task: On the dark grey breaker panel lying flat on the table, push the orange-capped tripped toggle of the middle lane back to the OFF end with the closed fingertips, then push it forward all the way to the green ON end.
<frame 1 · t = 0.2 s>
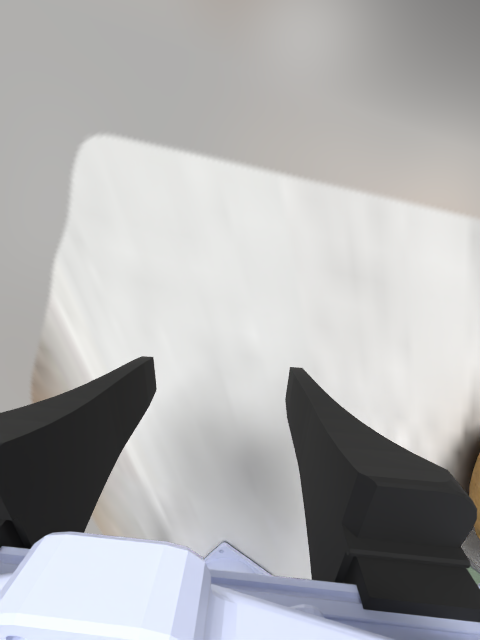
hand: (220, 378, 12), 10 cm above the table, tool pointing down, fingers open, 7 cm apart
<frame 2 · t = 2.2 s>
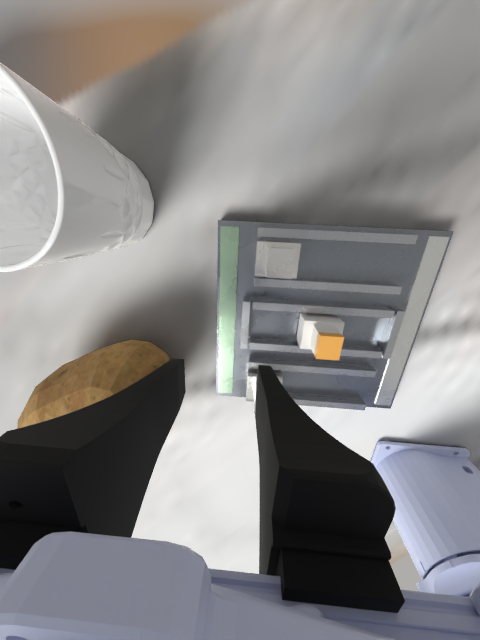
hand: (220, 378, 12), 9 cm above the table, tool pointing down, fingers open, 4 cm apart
potato: (128, 372, 24), on the table
breaker: (322, 336, 18), point 3 cm above the table, slide at 0.0 cm
panel: (312, 322, 20), on the table
white cup: (114, 202, 18), on the table
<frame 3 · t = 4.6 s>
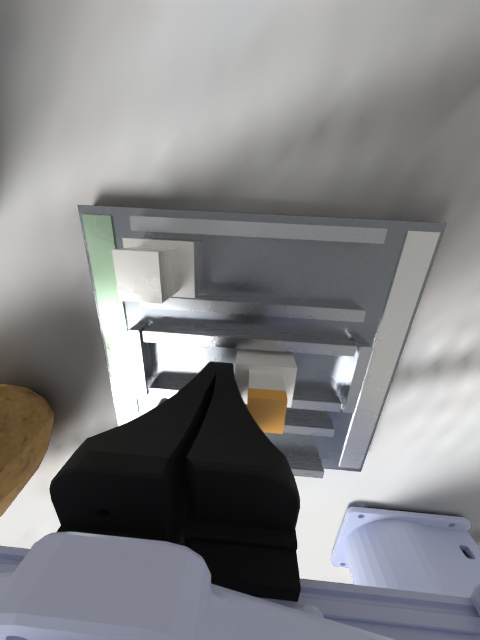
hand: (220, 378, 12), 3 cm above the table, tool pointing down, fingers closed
potato: (10, 415, 18), on the table
breaker: (264, 387, 11), point 3 cm above the table, slide at -1.0 cm, touching gripper
panel: (246, 355, 14), on the table
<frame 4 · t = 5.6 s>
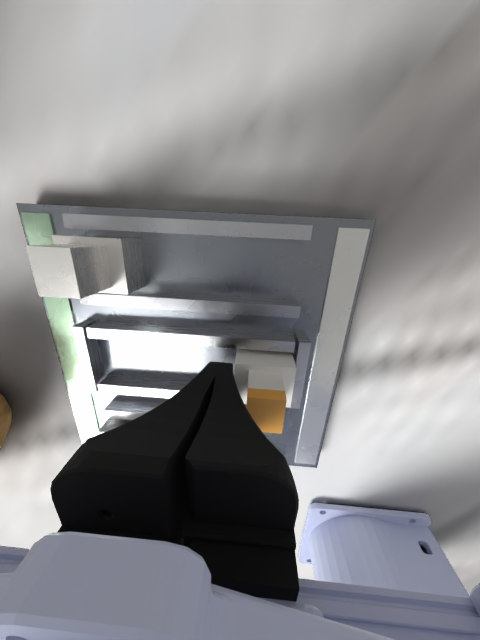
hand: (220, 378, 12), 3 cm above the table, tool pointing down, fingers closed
breaker: (263, 387, 11), point 3 cm above the table, slide at -4.0 cm, touching gripper
panel: (198, 351, 14), on the table
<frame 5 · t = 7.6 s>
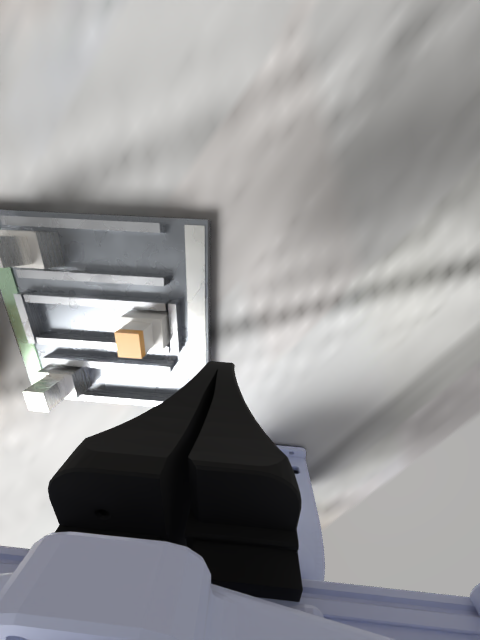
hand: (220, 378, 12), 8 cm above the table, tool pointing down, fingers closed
breaker: (141, 334, 17), point 3 cm above the table, slide at -4.0 cm
panel: (113, 316, 20), on the table
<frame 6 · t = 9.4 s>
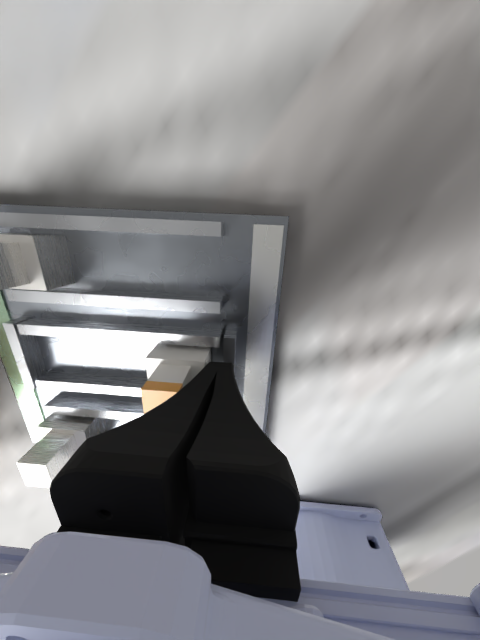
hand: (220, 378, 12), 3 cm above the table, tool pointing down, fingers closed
breaker: (175, 381, 12), point 3 cm above the table, slide at -3.4 cm, touching gripper
panel: (138, 348, 15), on the table
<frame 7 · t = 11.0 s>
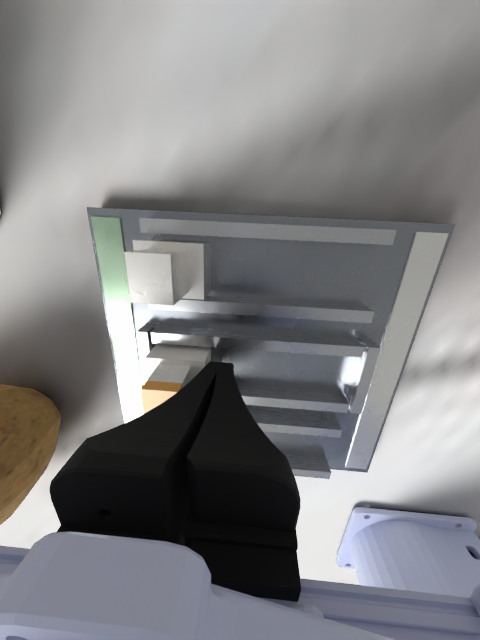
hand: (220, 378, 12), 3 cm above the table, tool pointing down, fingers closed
potato: (17, 416, 18), on the table
breaker: (175, 381, 12), point 3 cm above the table, slide at 4.0 cm, touching gripper
panel: (253, 356, 14), on the table
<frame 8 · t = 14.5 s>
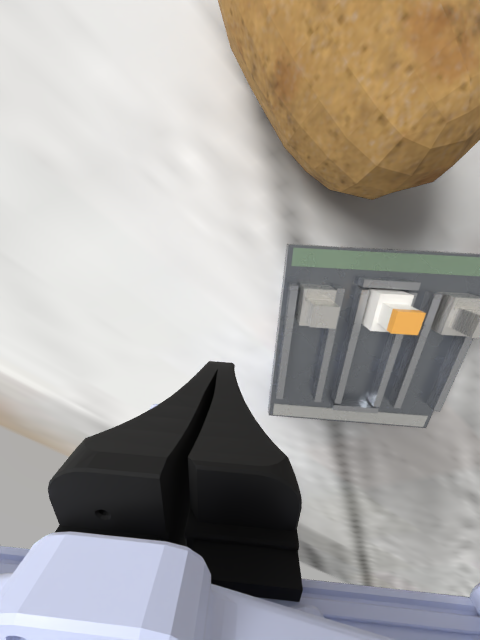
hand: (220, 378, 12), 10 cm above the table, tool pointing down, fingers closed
potato: (318, 98, 15), on the table
breaker: (392, 314, 17), point 3 cm above the table, slide at 4.0 cm
panel: (361, 343, 21), on the table
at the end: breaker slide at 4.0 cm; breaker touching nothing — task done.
